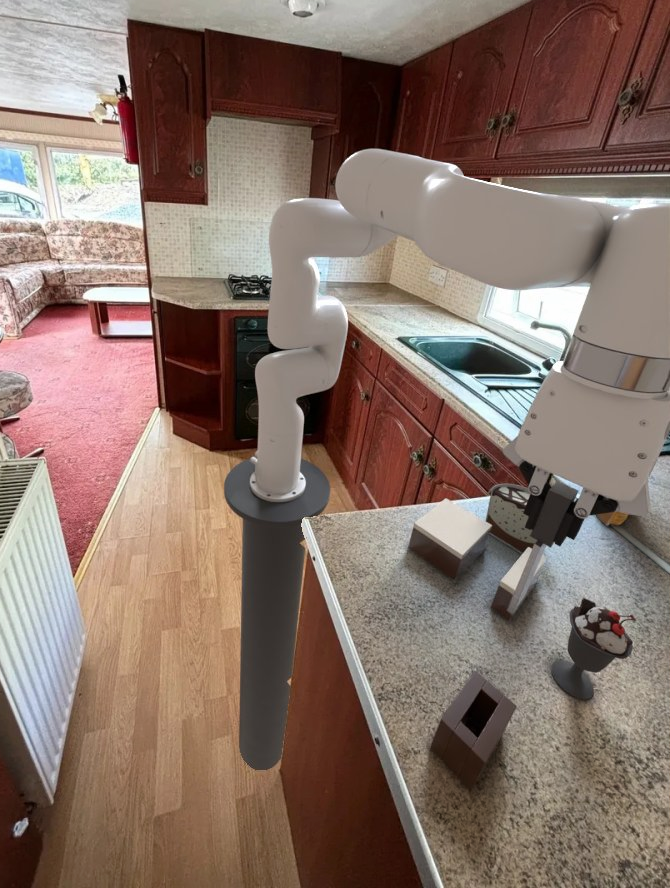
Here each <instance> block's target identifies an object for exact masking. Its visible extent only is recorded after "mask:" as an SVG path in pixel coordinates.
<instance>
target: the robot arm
mask: <svg viewBox="0 0 670 888" xmlns="http://www.w3.org/2000/svg"><path fill="white" fill-rule="evenodd" d="M335 193H336V197H337V199H330V198H318V197H303V198H301V197H300V198H293V199H291V200H287V201H285V202H283V203H282V204H280V206H279V207H278V208H277V209H276V210H275V212H274V214H273V216H272V218H271V220H270V224H269V225H270V226H269V231H268V246H269V253H270V254H269V255H270V261H271V280H270V281H271V283H270V292H269V303H268V315H267V336H268V340H269V342H270V343H271V344H272V345H273V346H274V347H276V348H278V349H282V350H281V351H276V352H273V353H268V354H267V355H265V356H263V357H262V358H260V359H259V360H258V362H257V363H256V365H255V370H254V378H255V385H256V391H257V392H256V393H257V400H258V429H257V449H256V450H255V452H254V456H252V457H250V458H251V459H250V462H252V463H253V464H255V472H253V474H252V475H251V477H250V488H251V490H252V492H253V493H254V494H255V495H256V496H258V497H259V498H261V499H264V500H266V501H270V502H288V501H291V500H294V499H296V498H298V497H299V496H300V495H301V494H302V493H303V492H304V490H305V485H306V481H305V478H304V476H303V475H302V473H301V472H300V462H301V459H302V448H303V439H304V426H305V425H304V424H305V415H304V412H303V410H302V408H301V407H300V405H298V403H297V399H298V398H301V397H303V396H307V395H311V394H316V393H320V392H325V391H327V390H329V389H331V388H332V387H333V386H334V385H335V384H336V382H337V380H338V379H339V374H340V371H341V366H342V362H343V356H344V352H345V346H346V341H347V336H348V330H349V329H348V328H349V319H348V313H347V310H346V308H345V305H344V304H343V302H342V301H341V300H340V299H339V298H337V297H336V296H333V295H328V294H320V295H319V289H320V283H321V275H320V271H319V267H318V265H317V262H316V260H315V258H361V257H366V256H369V255H371V254H373V253H375V252H377V251H378V250H380V249H381V248H383V247H384V246H386V245H387V244H388V243H390V242H392V241H393V240H394V239H396V238H398V237H399V236H400V237H403V238H405V239H407V240H410V241H411V242H414V243H415V244H416V246H417V247H418V249H419V250H420V251H421V252H422V253H423V254H424V255H425V256H426V257H427V258H428V259H430V260H431V261H433V262H435V263H437V264H439V265H440V266H442V267H445V268H447V269H450V270H451V271H455V272H457V273H459V274H461V275H464V276H466V277H468V278H470V279H473V280H475V281H478V282H480V283H483V284H485V285H488V286H491V287H494V288H498V289H502V290H507V291H530V290H538V289H554V288H569V287H571V288H572V287H576V288H577V287H580V288H581V287H582V288H584V287H585V288H588V291H587V294H586V296H585V300H584V302H583V305H582V307H581V311H580V313H579V316H578V319H577V322H576V325H575V327H574V330H573V333H572V335H571V338H570V341H569V343H568V347H567V349H566V352H565V355H564V357H563V360H559V361H556V362H555V363H554V364H553V365H552V367H551V368H550V370H549V371H548V373H547V374H546V376H545V378H544V379H543V381H542V383H541V385H540V387H539V388H538V390H537V392H536V394H535V396H534V398H533V400H532V402H531V403H530V404H531V405H530V406H529V408H528V410H527V413H526V416H525V418H524V419H523V422H522V424H521V427H520V429H519V431H518V433H517V436H516V437H514V438H513V439H512V440H511V441H510V442H509V443H508V444H507V445H506V446H505V447H503V449H502V454H503V455H504V456H505V457H506V458H507V459H508V460H509V461H510V462H511V463H512V464H513V465H515V466H517V467H518V469H519V472H520V473H521V475H522V477H523V478H524V480H525V481H526V484H527V485H528V486H527V488H528V491H529V492H530V493H531V494H530V497H529V499H528V502H527V504H526V507H525V510H524V512H523V514H525V515H527V516H529V517H528V520H527V522H526V525H525V528H527V529H529V530H533V529H534V526H535V524H536V521H537V519H538V516H539V514H540V511H541V509H542V506H543V504H544V500H545V498H546V495H547V493H548V490H549V489H550V488H551V487H552V484H551V483H552V479H553V477H554V476H556V477H558V478H561V479H564V480H565V481H568V482H570V483H572V484H575V485H578V486H579V487H582V489H581V491H580V495H579V497H578V498H577V497H576V498H575V500H574V502H573V504H572V505H571V506H570V508H569V509H568V511H567V512H566V513H565V514H564V517H563V519H562V521H561V524H560V526H559V528H558V530H557V533H556V535H555V537H554V540H553V542H554V545H556V546H557V547H562V545H563V544H564V542H565V541H566V539H567V538H569V539H570V540H572V541H575V539H576V538H577V536H578V535H579V533H580V531H581V528H582V526H583V524H584V521H585V519H588V518H589V517H590V516H597V514H604V513H611V512H614V511H616V512H620V513H624V514H629V515H630V516H636V517H646V516H648V514H649V512H650V510H651V497H650V488H649V477H650V476H651V474H652V472H653V470H654V468H655V466H656V463H657V462H658V459H659V456H660V455H661V452H662V449H663V447H664V445H665V443H666V440H667V438H668V437H669V433H670V202H649V203H640V204H636V205H632V206H630V207H629V206H622V205H616V204H610V203H606V202H601V201H595V200H590V199H589V200H588V199H583V198H578V197H571V196H567V195H566V196H565V195H559V194H550V193H549V194H548V193H541V192H538V191H537V192H536V191H531V190H526V189H521V188H516V187H511V186H506V185H503V184H498V183H493V182H488V181H486V180H485V181H484V180H481V179H476V178H472V177H468V176H464V173H463V171H462V169H461V168H460V167H458V166H457V165H456V164H453V163H449V162H443V161H438V160H433V159H428V158H424V157H420V156H419V155H413V154H408V153H403V152H397V151H392V150H388V149H381V148H366V149H362V150H359V151H356V152H354V153H353V154H351V155H350V156H348V157H347V158H346V159H345V160H344V162H342V164H341V166H340V167H339V169H338V171H337V174H336V177H335ZM255 457H257V459H256V458H255Z"/></svg>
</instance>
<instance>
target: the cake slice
mask: <svg viewBox="0 0 670 888" xmlns="http://www.w3.org/2000/svg"><path fill="white" fill-rule="evenodd" d="M531 551H532V549H531V548H530V547H528V548H527V549H526V550H525V551H524V553H523V554H521V555H520V556H519V558H518V559H517V560H516V561H515V562H514V564H513V565H512V566H511V567H510V568H509V570H508V571H507V573H505V575H504V576H503V577H502V579H501V580H500V582H499V583H498V587H497V588H496V592H495V594H494V597H493V599H492V602H491V605H490V607H489V608H490V609H492V610H493V611H494V612H496V613H497V614H499V616H501V617H503V618H504V619H505V620H506V621H509V622H510V621H511V620H512V618H513V617H514V615H515V614H516V612H517V611H518V610H519V608H520V607H521V605H522V604H523V602H524V601H525V600H526V598H527V597H528V596H529V594H530V592H531V591H532V590H533V588H534V587H535V585H536V584H537V582H538V580H539V578H540V575H541V573H542V570H543V568H544V566H545V565H546V561H547V559H548V557H547V556H545V555H544V554H543V555H542V557H541V560H540V562H539V564H538V567H537V569H536V571H535V574H534V576H533V578H532V581H531V583H530V585H529V587H528V590H527V592H526V594H525V596H524V597H523V599H522V600H521V602H520V603H519V605H518V606H517V608H516V609H515V611H514V612H513V614H511V613H509V612H508V611H507V609H508V606H509V604H510V602H511V599H512V597H513V594H514V592H515V589H516V587H517V585H518V582H519V580H520V577H521V575H522V573H523V570H524V568H525V565H526V563H527V560H528V558H529V556H530V553H531Z"/></svg>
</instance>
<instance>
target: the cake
mask: <svg viewBox="0 0 670 888" xmlns="http://www.w3.org/2000/svg"><path fill="white" fill-rule="evenodd" d="M491 528H492V525H491V524H489V523H487V522H486V520H484V519H482V518H481V517H479V516H477V515H475V514H474V513H472V512H471V511H469V510H467V509H465V508H464V507H462V506H460V505H458V504H457V503H455V502H453V501H451V500H450V499H448V498H444V499H443V500H441V501H440V502H439V503H438V504H437V505H435V506H434V507H433V508H431V509H430V510H429V511H428V512H426V513H425V514H424V515H422V516H421V517H420V518H418V519H417V520H416V521H414V523H413V527H412V530H411V534H410V538H409V543H408V546H407V549H409V550H410V551H412V552H413V553H415V554H416V555H417V556H419V557H420V558H422V559H423V560H424V561H426V562H427V563H428V564H430V565H431V566H433V568H436V570H438V571H439V572H440V573H443V575H444V576H446V577H448V578H449V579H451V580H452V581H453V582H455V581H456V580H457V579H458V578H459V577H460V576H461V575H462V574H463V573H464V572H465V571H466V569H467V568H468V567H469V566H470V565H471V564H472V563H473V562H474V561H475V560H476V559H477V558H478V556H480V555H481V553H483V551H484V550H485V547H486V545H487V543H488V540H489V539H488V538H489V536H490V534H489V533H490V530H491Z"/></svg>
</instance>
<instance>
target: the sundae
mask: <svg viewBox="0 0 670 888" xmlns="http://www.w3.org/2000/svg"><path fill="white" fill-rule="evenodd" d="M568 614H569V622H570V626H571V630H570V633H569V637H568V641H567V653H568V656H569V658H570V659H571V660H572V662H573V663H572V662H570V661H567V660H565V659H564V660H563V659H557V660H555V661H554V662H553V663H552V664H551V668H550V670H551V671H550V672H551V675H552V677H553V679H554V681H555V682H556V684H557V685H558V686H559V687H560V688H561V689H562V690H563V691H564V692H566V693H567V694H568V695H570V696H571V697H574V698H576V699H580V700H589V699H591V698H592V697H593V695H594V684H593V683H592V680H591V679H590V677H589V676H588V675H587V674H586V672H590V673H594V674H595V673H596V674H597V673H600V672H601V671H603V670H604V669H606V668H607V667H608V666H609V665H610V664H611V663H612V662H613V661H614V660H615V659H619V660H625V659H627V658H629V657H630V656H631V654H632V652H633V648H634V647H633V644H634V641H633V640H632V639H631V637H630V636H629V634H628V633H627V632H626V630H625V627H624V626H623V625H622V624H623V623H624V622H626V621H633V622H636V621H637V619H636V617H634V615H632V614H630V615H621V614H619V613H618V612H617V611H615V610H609V609H608V608H606V607H598V606H597V604H596V602H594V601H592V600H591V599H587V598H585V597H582V599H581V601H580V606H577V605H575V606H574V607H573V608H572V609H570V612H569V613H568ZM626 617H627V618H626ZM621 618H624V619H623V620H621ZM625 618H626V619H625ZM620 620H621V621H620ZM584 671H585V672H584Z"/></svg>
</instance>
